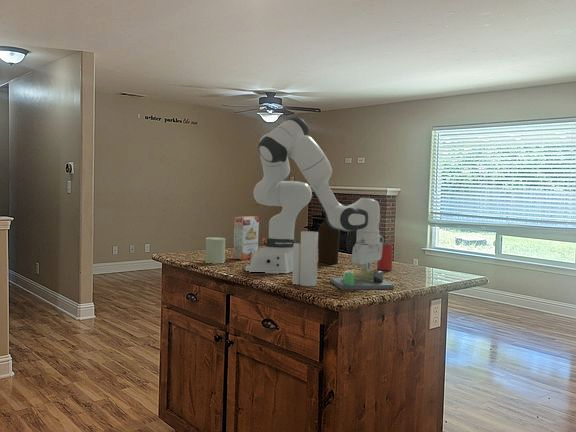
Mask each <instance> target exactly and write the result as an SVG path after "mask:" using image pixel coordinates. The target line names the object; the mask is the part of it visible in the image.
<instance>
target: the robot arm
mask: <svg viewBox="0 0 576 432" xmlns="http://www.w3.org/2000/svg"><path fill="white" fill-rule="evenodd" d="M309 131H310V130H309V127H308V124H307V123H306V122H305V120H304V119H302V118H301V117H299V116H292V117H289V118H287V119H286V120H285V121H283V122H281V123H280V124H278V125H276V126H275V127H274V128H273V129H272V130H271V131H270V132H268V133H265V134H264V135H262V136H261V138H260V140H259V142H258V146H257V147H258V153H259V156H260V157H259V158H260V161H261V166H262V171H263V176H262V179H261V180H260V181H258V182H257V183H256V184H255V186H254V187H253V188H254V189H253V199H254V200H255V201H256V203H258V204H260V205H264V206H268V207H270V206H271V207H282V209H281V211H280V212H279V213H277V214H275V215H274V216H272V217H271V218H270V219H269V221H268V237H267V238H265V237H263V238H262V239H261V242H262V243H263V247H261V248H259V249H258V251H257V252H256V253H255V254H253V256H252V258H251V259H250V263H249V265H246V266H245V268H244V270H245V272H247V271H249V272H248V273H250V272H265V273H264V274H279V273H286V274H289V273H293V244H294V243H296V238H295V228H296V227H295V225H296V222H297V221H296V220H297V217H298V215H299V213H300V212H301V210H303V208H305V207H306V206H307V205H308V204H310V202H311V200H312V197H313V193H314V194H315V196H316V198H317V200H318V202H319V204H320V205H321V207H322V209H323V211H324V216H325V220H326V221H327V223H328V225H329V226H330V227H331V228H333V229H336V230H340V231H346V232H354V231H356V242H355V244H354V245H353V247H352V252H351V253H352V254H351V264H352V265H355V266H361V268H362V269H361V270H363V271H371V268H372V265H373V263H374V262H377V261H378V260H380V259H381V257H382V243H384V238H385V237H383V236H382V235H380V229H379V224H380V221H381V220H380V219H381V212H380V211H381V209H380V208H381V207H380V204H379V202H378V200H376V199H373V198H370V197H361V198H358V199H357V201H355V202H353V203H351V204H348V205H345V204H341V203H340V202H339V201H338V199H337V197H336V196H335V194H334V192H333V191H332V189H331V187H330V184H329V180H330V179H331V177H332V174H333V167H332V164H331V162H330V160H329V159H328V158H327V157H328V156H326V154H325V152H324V151H323V150H322V148H321V147H320V146H319V144H318V143H317V142H316V141H315V139H313V138H312V137H311V136H310V135H309V133H310V132H309ZM289 158H290V159H291V160H293V161H294V163H295V164H296V167H298V169H299V171H300V172H301V175H303V178H305V180H306V181H307V182H303V181H299V180H295V181H294V180H286V179H287V178H288V176H289V175H290V172H291V167H290V165H291V164H290V160H289ZM312 190H313V192H312Z"/></svg>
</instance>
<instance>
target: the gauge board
mask: <svg viewBox="0 0 576 432" xmlns="http://www.w3.org/2000/svg"><path fill="white" fill-rule="evenodd" d="M329 282H331V283H332V284H333V285H334V286H336V287H337V288H339V289H340V290H341V291H342V290H343V291H344V290H347V291H348V290H350V291H351V290H352V291H355V290H359V291H360V290H395V284H393V283H392V282H389V281H387V280H385V279H383V282H374V281H371V280H364V279H357V278H354V274H352V269H351V270H350V269H348V270H346V271H343V274H342V277H330V279H329Z"/></svg>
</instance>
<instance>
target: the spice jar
mask: <svg viewBox="0 0 576 432" xmlns="http://www.w3.org/2000/svg"><path fill="white" fill-rule="evenodd" d="M351 273H352V274H354V278H357V279H364V280H371V281H374V282H383V280H384V271H382V270H374V271H371V270H370V271H363V269H354V268H353V269H351Z"/></svg>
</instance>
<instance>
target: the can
mask: <svg viewBox="0 0 576 432" xmlns="http://www.w3.org/2000/svg"><path fill="white" fill-rule="evenodd" d="M205 262H206V263H224V262H225V263H226V238H225V237H218V236H217V237H216V236H215V237H214V236H213V237H212V236H211V237H206V238H205ZM205 262H204V263H205ZM206 263H205V264H206ZM225 263H224V264H225Z"/></svg>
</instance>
